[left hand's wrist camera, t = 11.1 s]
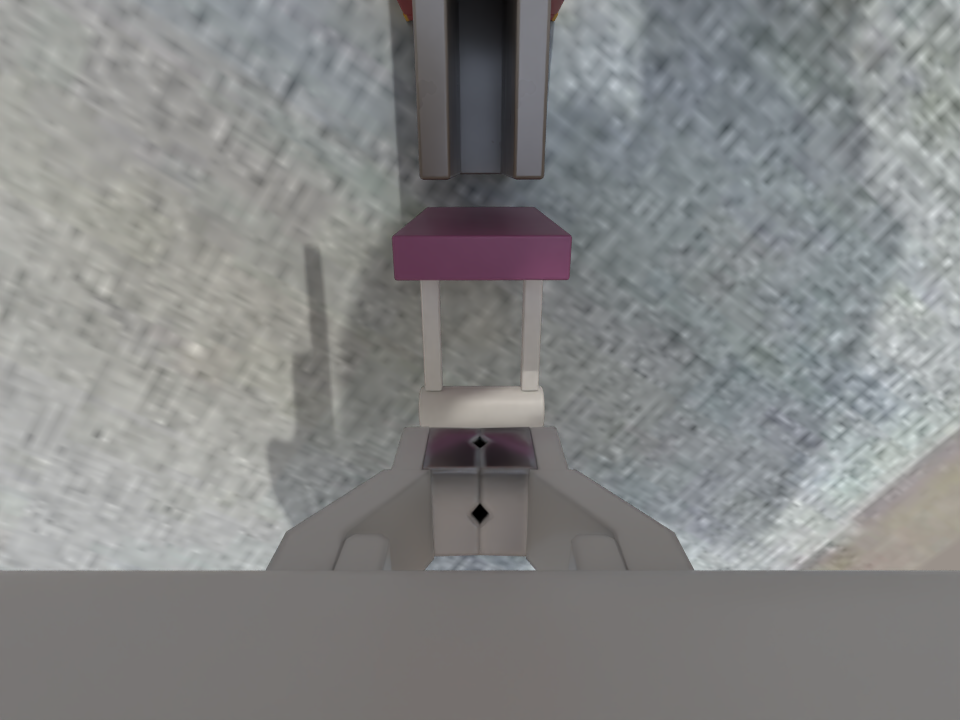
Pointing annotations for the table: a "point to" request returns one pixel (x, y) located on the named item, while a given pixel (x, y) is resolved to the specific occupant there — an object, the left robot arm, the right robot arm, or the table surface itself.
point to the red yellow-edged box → (407, 8)
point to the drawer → (481, 150)
